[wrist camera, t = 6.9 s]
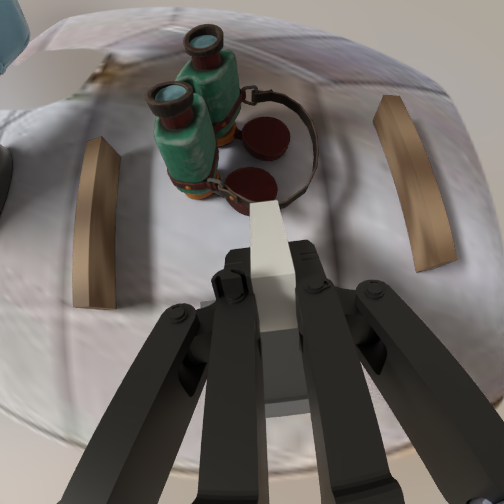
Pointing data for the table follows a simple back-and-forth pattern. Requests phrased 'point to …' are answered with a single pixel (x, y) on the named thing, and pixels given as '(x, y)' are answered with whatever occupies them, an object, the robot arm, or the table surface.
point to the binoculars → (218, 125)
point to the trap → (282, 373)
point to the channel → (399, 159)
